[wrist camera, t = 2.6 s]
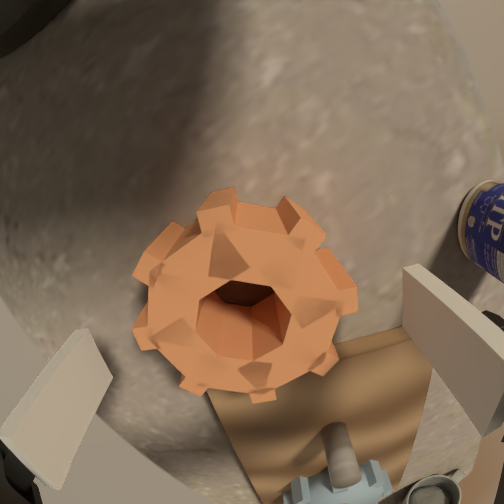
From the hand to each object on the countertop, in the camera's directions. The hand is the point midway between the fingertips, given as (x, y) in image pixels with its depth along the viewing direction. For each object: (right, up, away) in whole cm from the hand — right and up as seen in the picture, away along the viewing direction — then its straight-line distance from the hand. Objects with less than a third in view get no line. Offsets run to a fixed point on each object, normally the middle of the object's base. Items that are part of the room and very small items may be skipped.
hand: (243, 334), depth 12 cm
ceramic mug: (+24, -28, +15) cm, 40 cm away
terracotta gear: (0, +2, +4) cm, 4 cm away
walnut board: (+7, -13, +9) cm, 17 cm away
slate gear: (+8, -18, +10) cm, 22 cm away
